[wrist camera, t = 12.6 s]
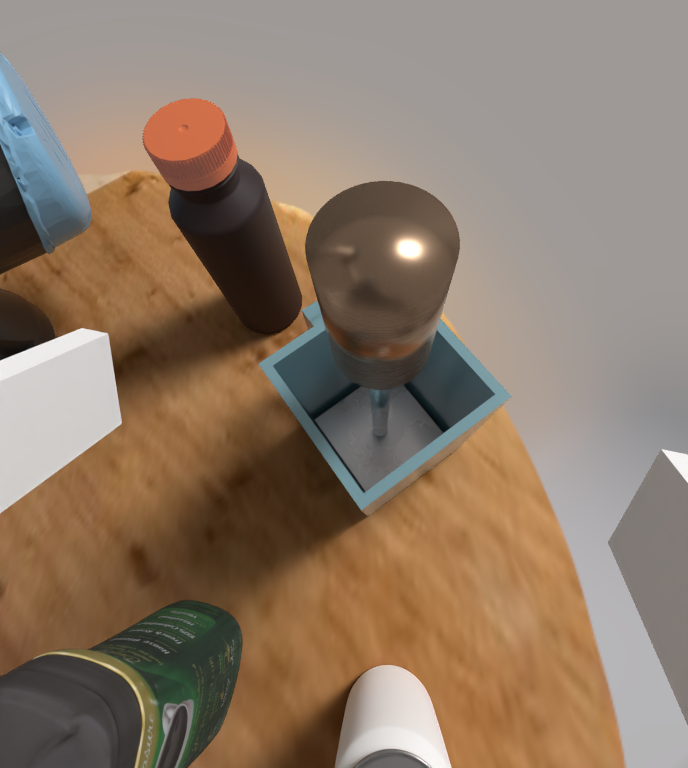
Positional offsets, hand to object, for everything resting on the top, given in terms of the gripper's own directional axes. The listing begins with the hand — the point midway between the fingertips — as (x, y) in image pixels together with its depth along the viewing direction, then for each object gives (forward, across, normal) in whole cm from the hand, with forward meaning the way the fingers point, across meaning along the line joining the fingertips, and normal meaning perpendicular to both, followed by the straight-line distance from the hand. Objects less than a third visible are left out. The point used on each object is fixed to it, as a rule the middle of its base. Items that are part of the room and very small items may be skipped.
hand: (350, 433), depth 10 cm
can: (+9, +5, -30) cm, 31 cm away
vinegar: (+31, -14, -8) cm, 35 cm away
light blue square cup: (+24, -2, -14) cm, 28 cm away
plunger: (+22, 0, -14) cm, 26 cm away
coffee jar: (+8, -11, -30) cm, 33 cm away
